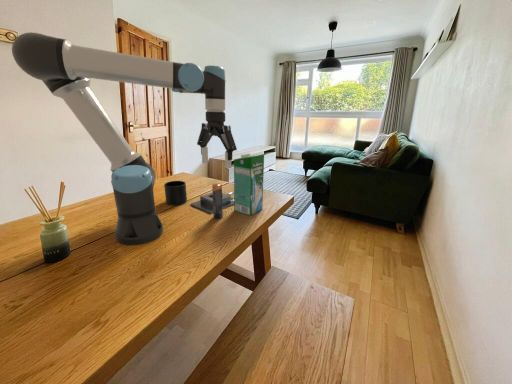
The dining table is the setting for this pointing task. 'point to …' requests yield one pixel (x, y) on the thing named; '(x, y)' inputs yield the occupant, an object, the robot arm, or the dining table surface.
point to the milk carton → (248, 183)
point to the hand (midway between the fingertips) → (216, 165)
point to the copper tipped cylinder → (217, 201)
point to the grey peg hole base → (207, 202)
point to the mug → (175, 192)
